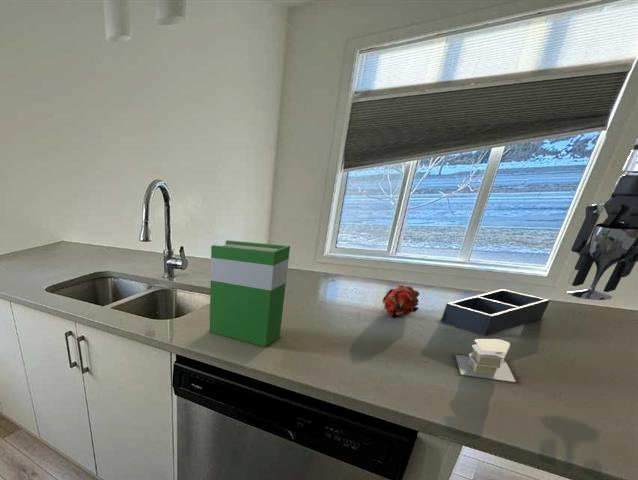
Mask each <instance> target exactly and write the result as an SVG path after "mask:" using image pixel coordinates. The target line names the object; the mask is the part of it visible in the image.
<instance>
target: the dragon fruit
mask: <svg viewBox="0 0 638 480" xmlns="http://www.w3.org/2000/svg"><path fill="white" fill-rule="evenodd" d="M419 296H420V292H419V290H414V288H413V287H412V286H410V285H407V286H405V285H398V286H396V287H395V288H391V289H389V290H388V291H386V294H385V295H384V297H383V298H382V304H384V307H383V308H384V310H386V312H387V315H388V316H390V317H397V316H407V315H409V314H411V313H415V312H417V311H418V310H419V307H418V306H419V302H420V301H419V299H418V297H419Z"/></svg>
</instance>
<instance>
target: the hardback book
mask: <svg viewBox="0 0 638 480" xmlns="http://www.w3.org/2000/svg"><path fill="white" fill-rule="evenodd" d="M290 250H291V245H285V244H284V245H283V244H272V243H263V242H262V243H261V242H251V241H250V242H249V241H239V240H230V239H229V240H225V244H223V245H216V244H215V245H214V244H213V245H211V246H210V289H209V290H210V292H209V293H210V295H209V332H210V333H214V334H217V335H221V336H224V337H228V338H232V339H236V340H239V341H241V342H247V343H249V344H254V345H257V346H261V347H264V348H266V347H268V346H269V345H270V344H272V343H273V342H275V341H277V340H279V338H280V337H281V329H282V320H283V311H284V303H285V295H286V286H287V285H286V284H287V277H288V268H289V261H290V260H289V259H290V253H291V252H290Z"/></svg>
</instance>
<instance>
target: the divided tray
mask: <svg viewBox="0 0 638 480" xmlns="http://www.w3.org/2000/svg"><path fill="white" fill-rule="evenodd" d="M550 301H551V299H548V298H543V297H539V296H535V295H530V294H525V293H521V292H517V291H514V290H513V291H512V290H509V289H504V288H501V289H498V290H494V291H489V292H486V293H481V294H478V295H474V296H471V297H470V296H469V297H465V298H462V299H459V300H455V301H451V302H447V303H446V304H445V307H444V310H443V313H442V316H441V319H440V322H442V323H445V324H448V325H451V326H454V327H457V328H459V329H463V330H466V331H470V332H473V333H476V334H479V335H481V336H488V335H490V334H495V333H497V332H501V331H504V330H507V329H511V328H514V327H517V326H521V325H524V324H528V323H532V322H534V321H538V320H541V319H542V318H543V317H544V314H545V312H546V310H547V308H548V306H549V303H550Z"/></svg>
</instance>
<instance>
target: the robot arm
mask: <svg viewBox="0 0 638 480" xmlns="http://www.w3.org/2000/svg"><path fill="white" fill-rule="evenodd" d="M622 171H623V172H624V174H621V175H620V176H619V177H618V179H617V180H616V183H615V186H614V188H613V190H612V193H611V195H610V197H609V198H608V199H607V200H606V201H605V202H603V203H595V204H590V205H588V206H586V207H585V218H584V220H583V222H582V224H581V226H580V229H579V230H578V233H577V235H576V238H575V239H574V242H573V244H572V246H571V249H570V251H571V252H572V253H576V254H578V255H579V257H578V258H577V261H576V263H575V265H574V271H577V273H576V275H575V277H574V279H573V281H572V284H571V286H572V287H578V286H582V285H584V284H585V281H586V279H587V278H588V275H589V272H590V270H591V269H592V266H593V265H594V263H595V262H594V261H593V259H592V257H591V256H590V254H589V252H588V247H589V241H590V238H591V235H592V233H593V230H594V228H595V226H596V225H597V224H598V223H597V222H598V221H599V218H600V216H601V214H602V213H603V212H604V210H605V213H606V214H607V217H606V218H605V219H604V221H603V222H601V223H602V226H601V227H603V228H610V229H613V228H614V227H615V226H616V225H617V224H618V223H619V222H622V223H629V226H628V228H629V229H638V137H637V139H636V140H635V143H634V145H633V147H632V149H631V152H630V153H629V156H628V157H627V160H626V162H625V164H624V166H623V169H622ZM637 262H638V247H635V246H634V248H633V249H632V250H631V251H630V252H629V253H628V254H627V255H626V256H625V258H624V260H622V261H619V262H618V263H616V264H615V266H614V269H613V271H612V272H611V275H610V276H609V278H608V280H607V283H606V284H605V286H604V289H603V290H602V292H603V293H609V292H612V291H616V289H617V287H618V285H619V283H620V282H621V280H622V279H623V278H626V277H628V276H630V275H631V273H632V271H633V269H634V267H635V265H636V263H637Z"/></svg>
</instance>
